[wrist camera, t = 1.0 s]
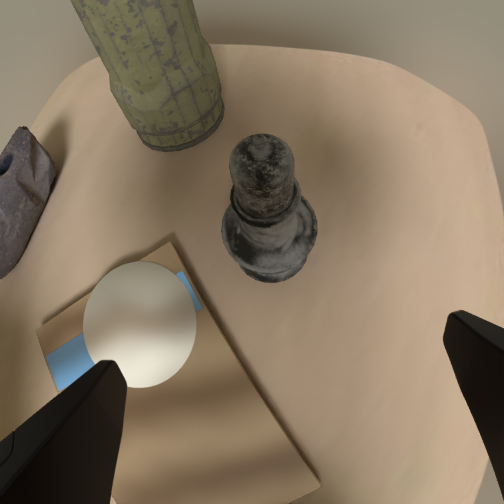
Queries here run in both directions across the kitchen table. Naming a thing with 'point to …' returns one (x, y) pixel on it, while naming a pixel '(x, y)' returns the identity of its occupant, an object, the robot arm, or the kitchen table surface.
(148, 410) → the board
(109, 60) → the thermos
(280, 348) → the kitchen table surface
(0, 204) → the perforated stone tool
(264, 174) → the dark grey chess piece
